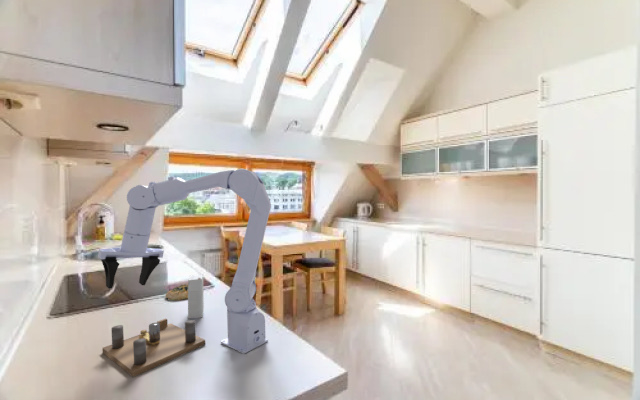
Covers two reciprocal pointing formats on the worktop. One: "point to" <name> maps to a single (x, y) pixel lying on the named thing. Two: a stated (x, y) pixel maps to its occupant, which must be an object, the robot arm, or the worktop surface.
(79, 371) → the worktop surface
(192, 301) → the skincare box
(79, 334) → the worktop surface
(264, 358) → the worktop surface
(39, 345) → the worktop surface
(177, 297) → the bread roll
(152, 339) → the bar
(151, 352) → the seat board
